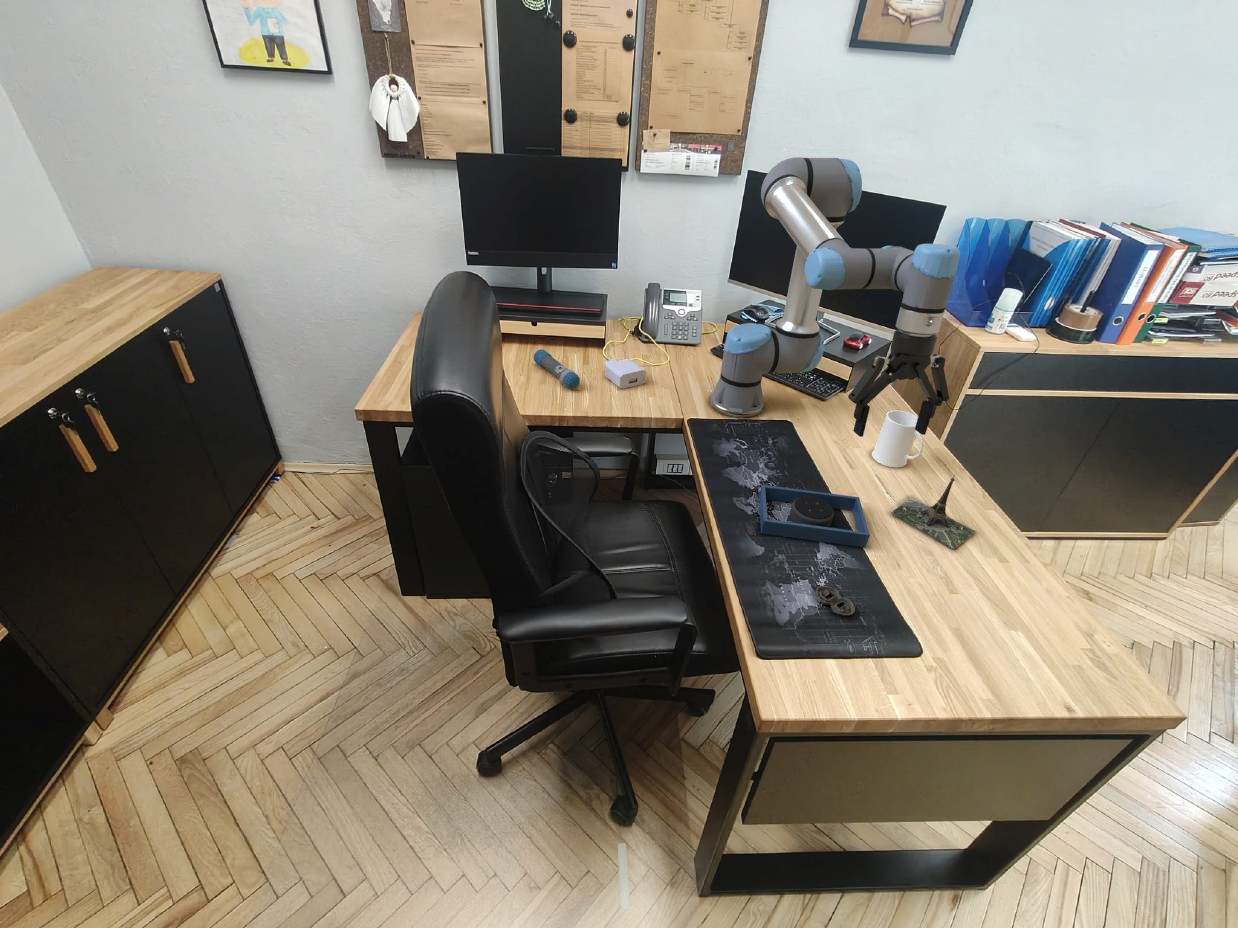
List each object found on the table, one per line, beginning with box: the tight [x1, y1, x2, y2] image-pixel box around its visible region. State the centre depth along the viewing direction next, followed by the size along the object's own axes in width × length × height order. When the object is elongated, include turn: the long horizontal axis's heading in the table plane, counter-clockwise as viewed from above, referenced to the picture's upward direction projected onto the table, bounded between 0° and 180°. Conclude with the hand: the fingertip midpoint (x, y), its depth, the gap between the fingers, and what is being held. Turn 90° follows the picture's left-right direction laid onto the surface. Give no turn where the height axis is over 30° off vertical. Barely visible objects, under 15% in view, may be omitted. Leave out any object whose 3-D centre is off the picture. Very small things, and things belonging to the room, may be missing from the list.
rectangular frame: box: [758, 484, 871, 548], centre depth 129 cm, size 13×22×4 cm, turn 81°
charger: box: [603, 358, 647, 389], centre depth 184 cm, size 5×9×15 cm
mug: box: [871, 409, 925, 469], centre depth 148 cm, size 12×8×12 cm
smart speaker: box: [789, 496, 835, 528], centre depth 129 cm, size 9×9×4 cm
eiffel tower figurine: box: [890, 474, 976, 551], centre depth 128 cm, size 15×10×13 cm
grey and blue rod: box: [533, 349, 581, 390], centre depth 181 cm, size 5×22×5 cm, turn 35°
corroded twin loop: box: [815, 585, 856, 617], centre depth 110 cm, size 5×8×1 cm, turn 35°
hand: (889, 433), depth 122 cm, fingers open, 13 cm apart
